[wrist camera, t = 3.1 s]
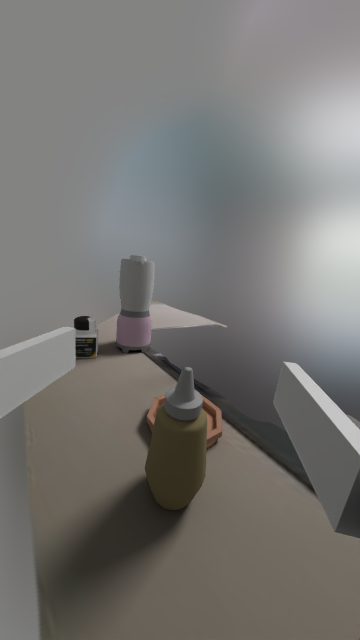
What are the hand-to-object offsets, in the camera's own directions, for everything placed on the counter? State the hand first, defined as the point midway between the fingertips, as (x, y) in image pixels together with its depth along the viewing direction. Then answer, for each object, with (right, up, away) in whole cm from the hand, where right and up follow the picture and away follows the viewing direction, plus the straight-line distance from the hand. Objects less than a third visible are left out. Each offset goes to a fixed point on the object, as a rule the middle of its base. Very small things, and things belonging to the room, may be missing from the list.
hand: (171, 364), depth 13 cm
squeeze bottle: (0, -21, +16) cm, 26 cm away
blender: (-17, -7, +65) cm, 68 cm away
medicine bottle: (-30, -8, +54) cm, 62 cm away
